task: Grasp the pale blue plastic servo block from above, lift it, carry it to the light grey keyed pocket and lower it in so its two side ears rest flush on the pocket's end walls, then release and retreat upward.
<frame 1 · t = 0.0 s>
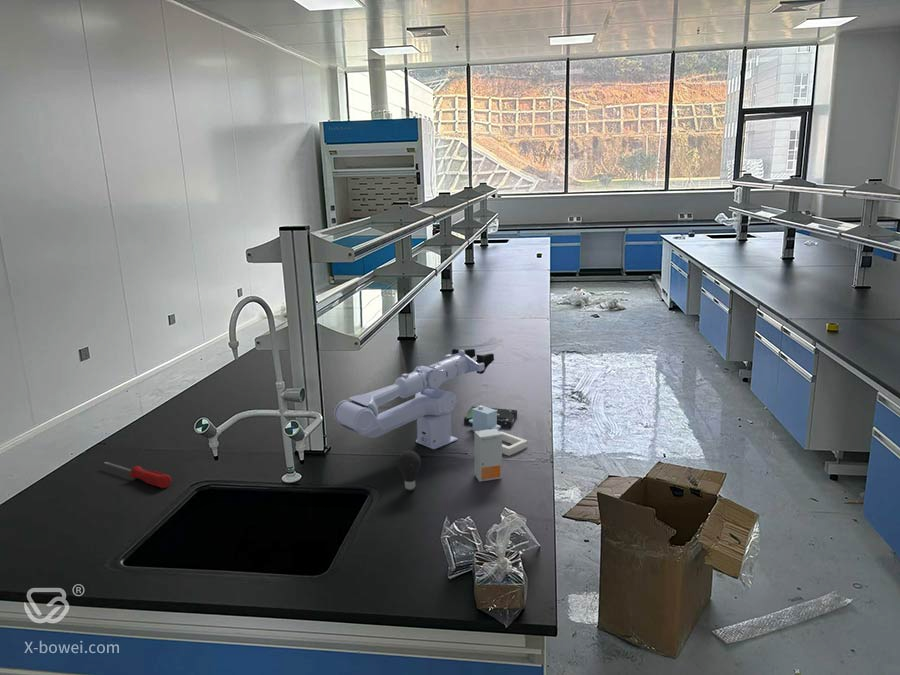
hand: (483, 354, 190), 22 cm above the counter, tool horizontal, fingers open, 7 cm apart
keyed pocket: (504, 446, 177), on the counter
screwdriver: (135, 478, 163), on the counter
skincare box: (488, 477, 159), on the counter
light bulb: (410, 490, 154), on the counter
disk drive: (490, 422, 197), on the counter
servo block: (484, 431, 188), on the counter
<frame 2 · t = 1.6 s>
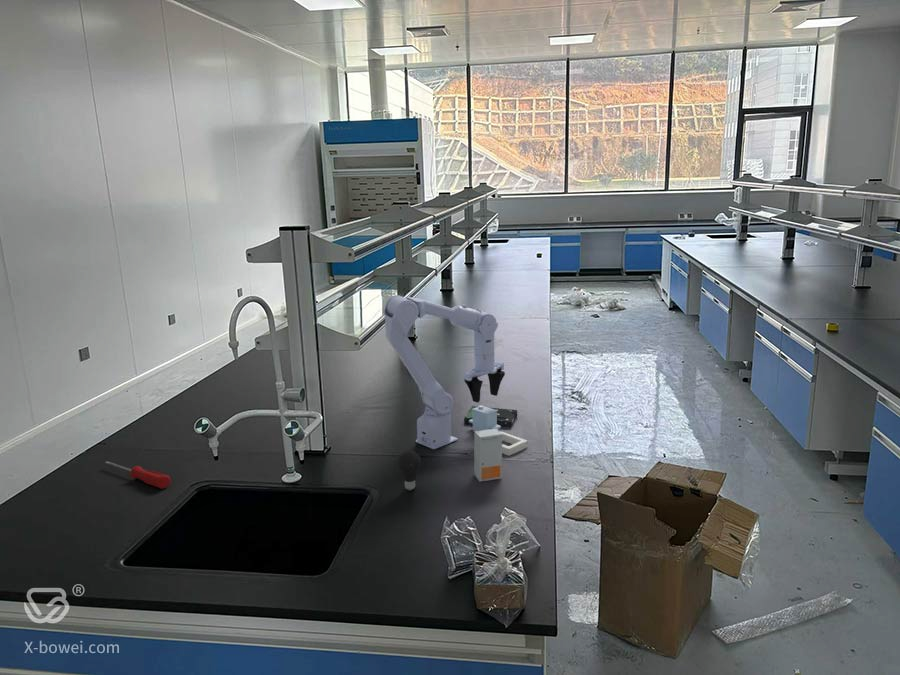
hand: (485, 398, 186), 10 cm above the counter, tool pointing down, fingers open, 7 cm apart
nothing on the counter moved.
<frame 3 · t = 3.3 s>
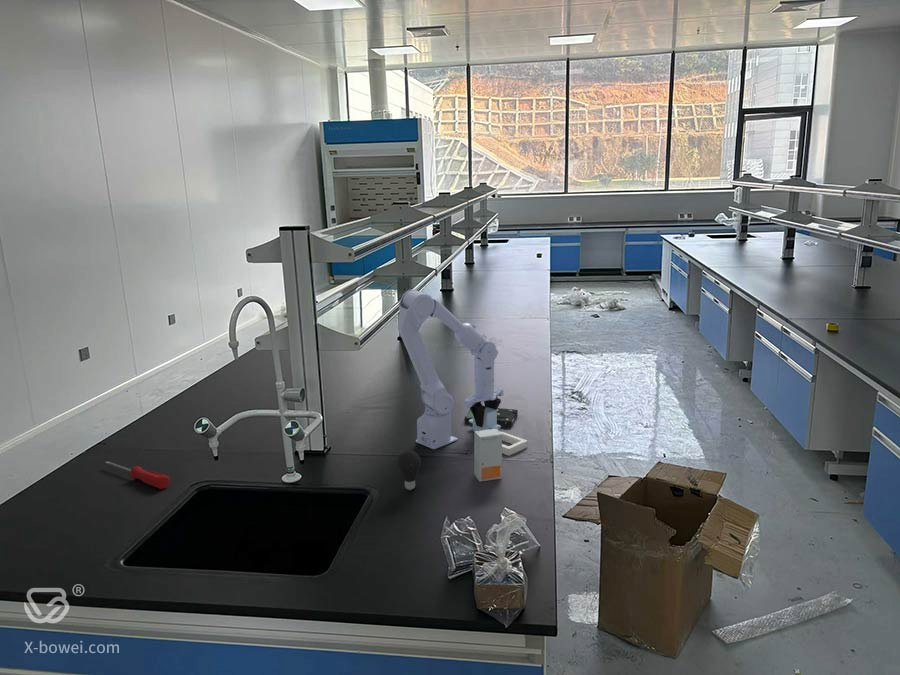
hand: (484, 424, 188), 2 cm above the counter, tool pointing down, fingers closed on servo block, 4 cm apart
servo block: (484, 431, 188), on the counter, touching gripper
everything else where it was.
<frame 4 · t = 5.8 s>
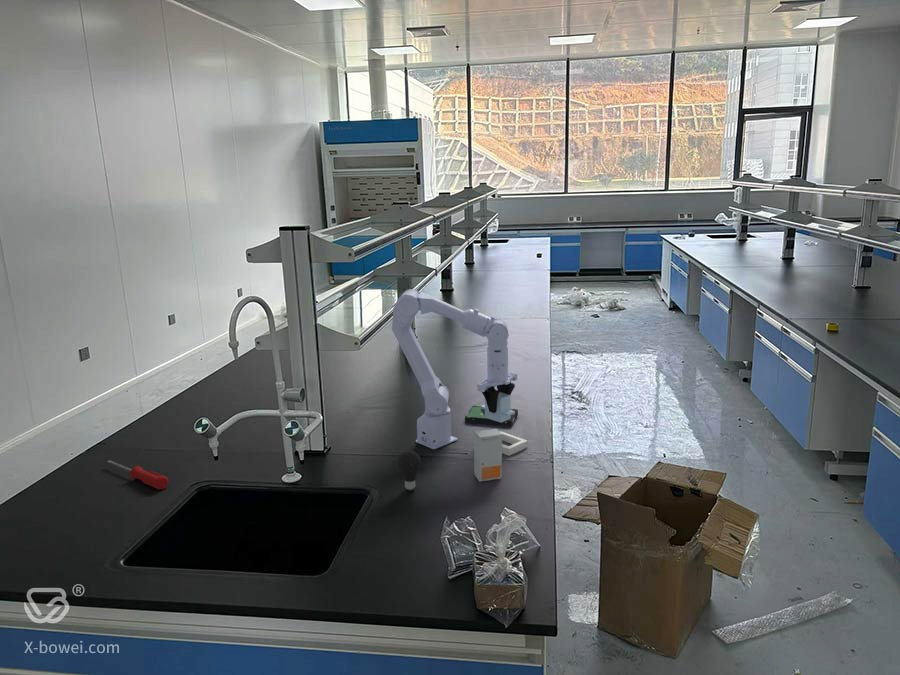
hand: (497, 409, 179), 9 cm above the counter, tool pointing down, fingers closed on servo block, 4 cm apart
servo block: (497, 418, 180), point 7 cm above the counter, touching gripper
everything else where it was.
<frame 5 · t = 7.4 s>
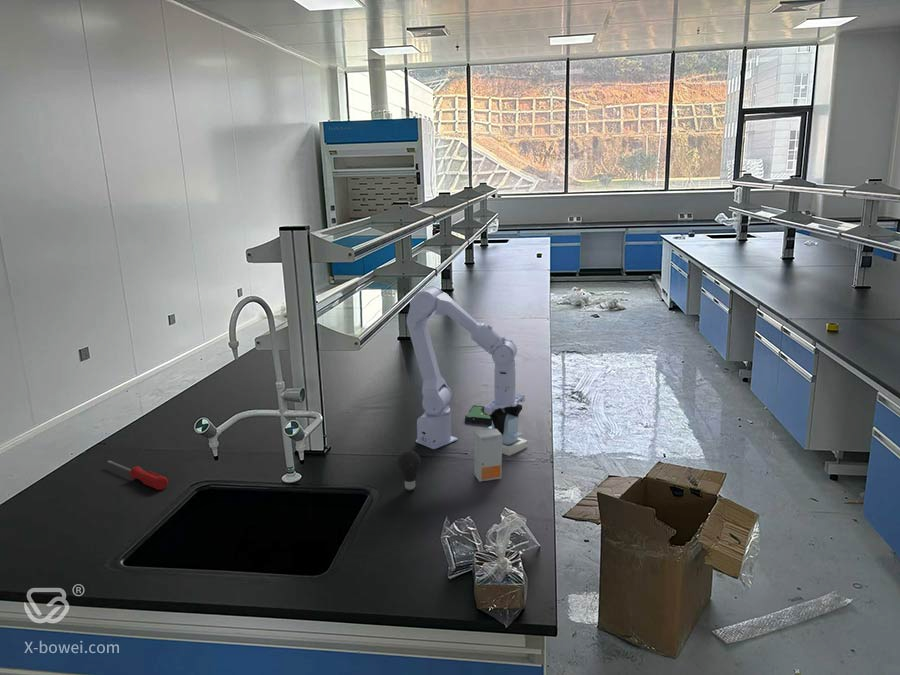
hand: (505, 431, 176), 4 cm above the counter, tool pointing down, fingers closed on servo block, 4 cm apart
servo block: (504, 439, 177), point 2 cm above the counter, touching gripper
when the fingers open (3 cm above the counter, at t = 8.6 s): servo block stays where it is, resting in keyed pocket.
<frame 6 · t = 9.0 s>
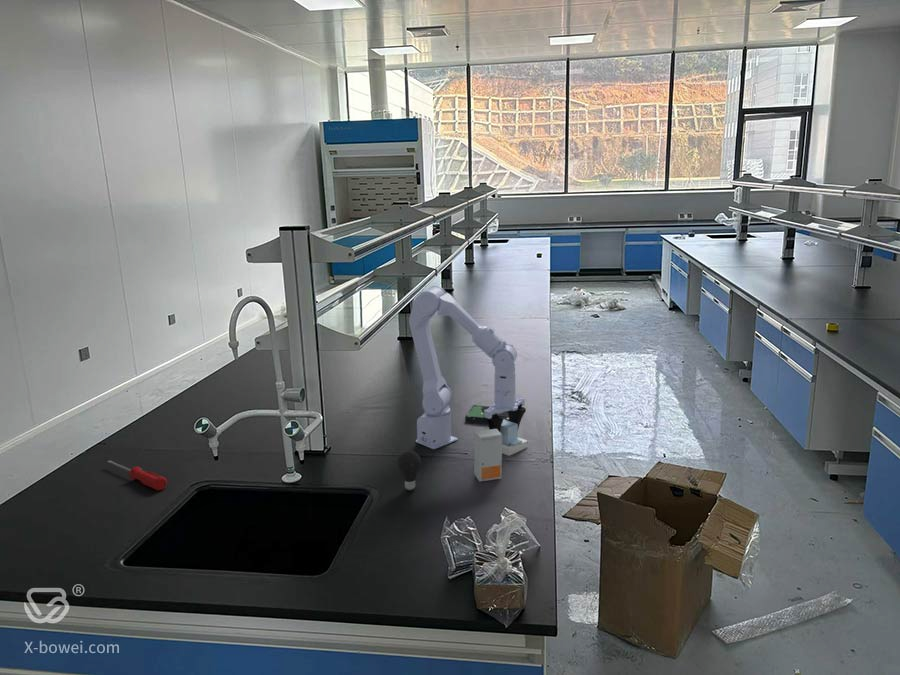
hand: (504, 435, 177), 3 cm above the counter, tool pointing down, fingers open, 7 cm apart
servo block: (504, 446, 178), resting in keyed pocket
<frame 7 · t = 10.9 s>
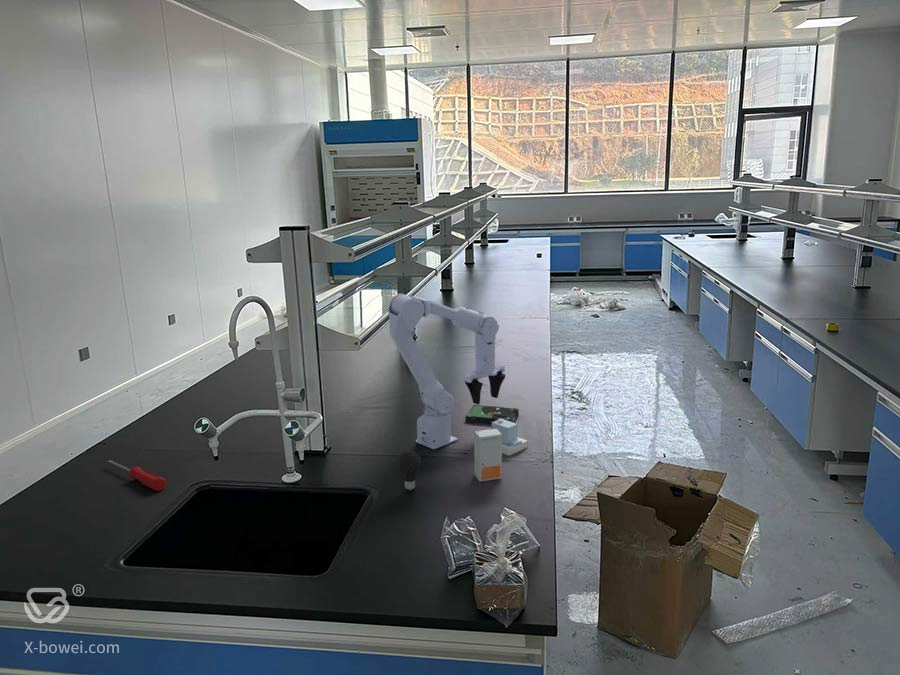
hand: (485, 400, 187), 9 cm above the counter, tool pointing down, fingers open, 7 cm apart
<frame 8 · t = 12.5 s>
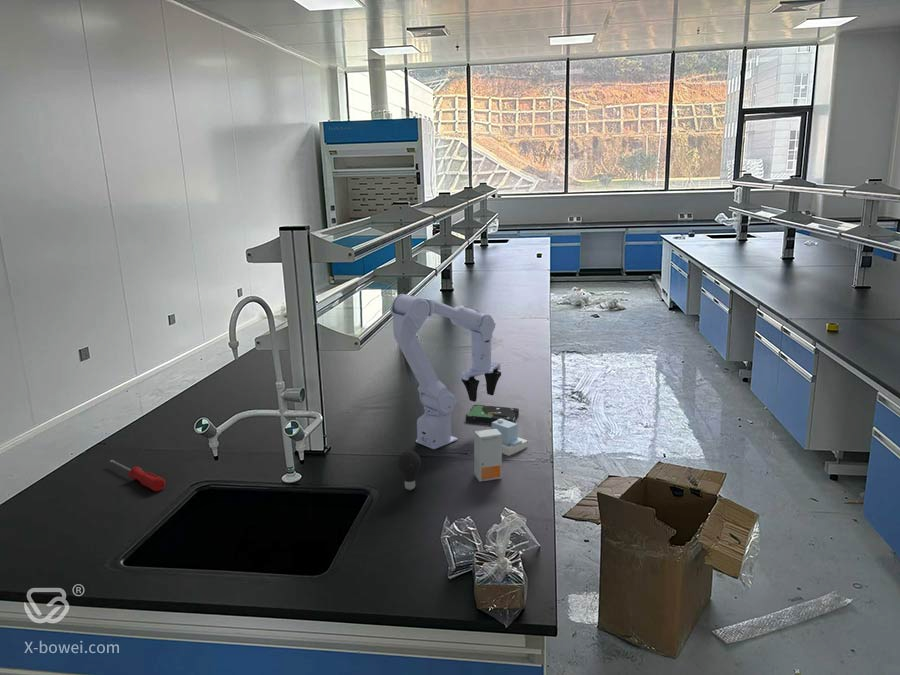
hand: (481, 397, 189), 9 cm above the counter, tool pointing down, fingers open, 7 cm apart
at the end: servo block 0.1 cm off-centre on the keyed pocket, point 0.0 cm above the keyed pocket's base; servo block tilted 0°; the gripper is holding nothing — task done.
